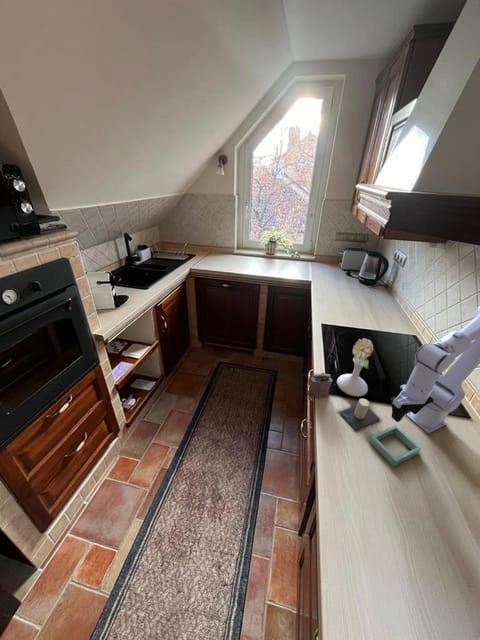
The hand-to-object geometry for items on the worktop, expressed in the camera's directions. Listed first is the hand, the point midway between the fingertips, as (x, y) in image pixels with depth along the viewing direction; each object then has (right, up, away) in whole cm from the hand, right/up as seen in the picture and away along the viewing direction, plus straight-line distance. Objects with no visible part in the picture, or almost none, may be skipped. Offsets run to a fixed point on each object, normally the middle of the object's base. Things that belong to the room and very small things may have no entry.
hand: (403, 415), depth 78 cm
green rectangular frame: (-3, -10, +1) cm, 11 cm away
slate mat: (-9, -4, +11) cm, 15 cm away
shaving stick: (-9, -4, +11) cm, 14 cm away
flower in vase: (-7, +2, +22) cm, 23 cm away
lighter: (-21, +1, +20) cm, 28 cm away
